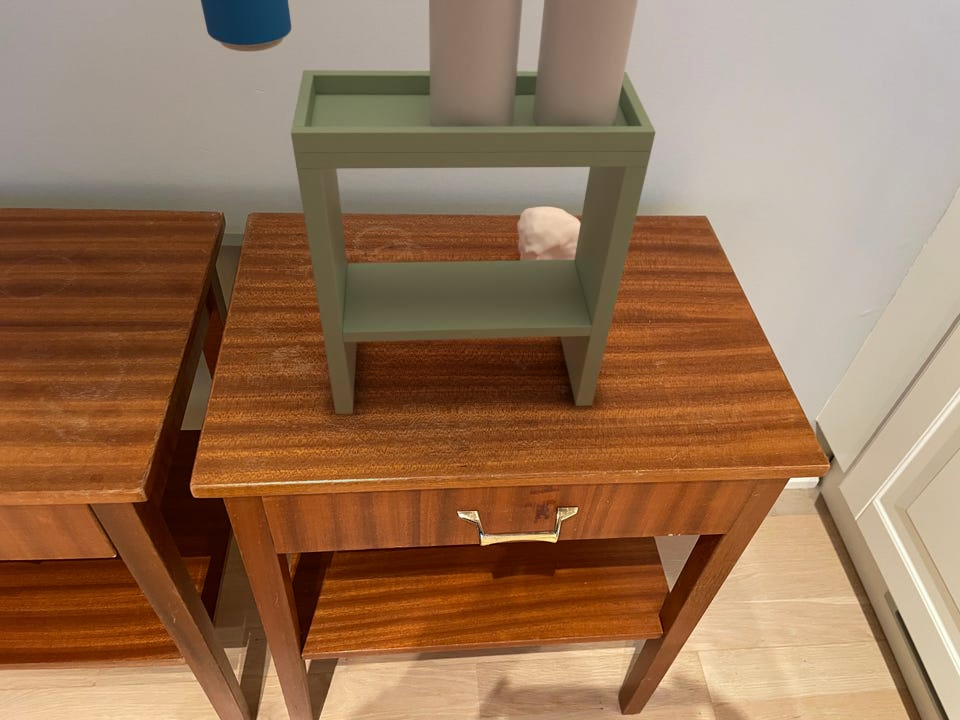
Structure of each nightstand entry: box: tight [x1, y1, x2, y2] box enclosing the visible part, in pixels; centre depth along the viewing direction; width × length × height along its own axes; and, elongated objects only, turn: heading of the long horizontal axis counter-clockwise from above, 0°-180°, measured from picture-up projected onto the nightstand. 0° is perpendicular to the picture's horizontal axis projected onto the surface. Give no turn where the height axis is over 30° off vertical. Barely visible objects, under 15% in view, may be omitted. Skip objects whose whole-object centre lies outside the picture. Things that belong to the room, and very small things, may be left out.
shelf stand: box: [296, 166, 648, 415], centre depth 63 cm, size 24×9×26 cm, turn 94°
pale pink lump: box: [516, 206, 581, 260], centre depth 81 cm, size 6×8×12 cm
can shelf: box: [290, 0, 656, 170], centre depth 49 cm, size 24×9×13 cm, turn 94°
